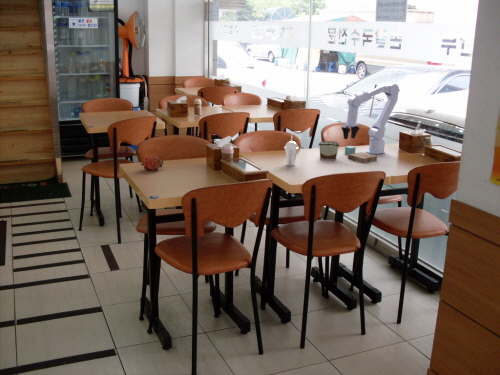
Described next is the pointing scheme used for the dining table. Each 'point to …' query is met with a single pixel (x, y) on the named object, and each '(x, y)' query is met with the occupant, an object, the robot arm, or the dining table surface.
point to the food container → (328, 150)
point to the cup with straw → (291, 151)
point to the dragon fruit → (152, 163)
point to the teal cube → (349, 150)
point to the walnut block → (362, 157)
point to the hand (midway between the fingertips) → (349, 138)
